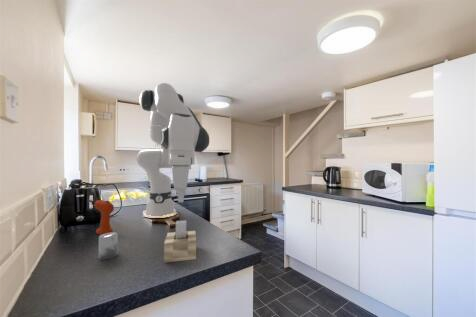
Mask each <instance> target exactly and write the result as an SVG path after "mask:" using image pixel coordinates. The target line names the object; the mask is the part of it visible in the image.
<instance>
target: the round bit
mask: <svg viewBox="0 0 476 317" xmlns="http://www.w3.org/2000/svg"><path fill="white" fill-rule="evenodd" d="M118 255H119V233H118V232H114V231H113V233H106V234H102V235H101V234H99V236H98V259H99V260H100V261H107V260H110V259H111V260H112V259H113V258H115V257H117V256H118Z"/></svg>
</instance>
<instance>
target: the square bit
mask: <svg viewBox="0 0 476 317" xmlns="http://www.w3.org/2000/svg"><path fill="white" fill-rule="evenodd" d="M186 231H187V219H185V220H176V222H175V232H176V239H186Z"/></svg>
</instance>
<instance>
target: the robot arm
mask: <svg viewBox="0 0 476 317" xmlns="http://www.w3.org/2000/svg"><path fill="white" fill-rule="evenodd" d="M138 100H139V105H140V106H141V108H142V110H143V111H147V112H150V122H149V123H150V124H149V125H150V126H149V130H150V132H149V134H150V139H151V141H152V142H154V143H155V144H158V145H160V146H161V149H151V148H150V149H142V150H140V151H138V153H137V155H136V163H137V165H138V167H140V168H141V169H142V170H144V171H145V172H146V174H147V175H148V178H149V183H150V184H149V186H150V188H149V189H150V191H149V200H147V202H146V208H145V209H146V210H145V214H146V215H151V216H163V215H167V214H171V213H174V212H175V213H176V214H177V215H178V212H177V211H176V208H175V206H174V205H175V203H174V202H175V201H174V200H173V199H172V196H173V195H172V194H173V193H172V191H171V189H172V188H171V187H172V186H171V185H173V188H174V190H175V191H177V202H178V203H184V201H185V195H186V194H185V192H186V190H187V188H188V180H189V172H190V170H191V169H192V165H195V164H196V163H195V160H196V158H195V156H196V154H195V153H203V152H204V151H205V150H206V149H207V148H208V147H209V145H210V134H209V133H208V131H207V130H206V129H205V128H204V127H203V126H202V124H201V123H200V121H199V120H198V117H197V116H196V115H195V113H194V112H193V110H191V108H190V107H189V106H188V105H186V104H185V101H184V100H185V99H184V97H183V96H182V94H180V93H178V92H177V91H176V89H175V88H174V86H172V85H171V84H170V83H167V82H162V83H159V84H158V85H156V87H155V89H154V90H152V89H146V90H143V91H141V93H140V94H139V99H138ZM160 169H171V171H172V172H171V173H172V180H171V177H170V176H168V174H165V173H162V172H161V170H160ZM171 182H172V183H173V184H172V183H171ZM142 218H145V215H144V214H143V215H142Z"/></svg>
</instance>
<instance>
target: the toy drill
mask: <svg viewBox="0 0 476 317" xmlns="http://www.w3.org/2000/svg"><path fill="white" fill-rule="evenodd" d="M86 201H87V202H89V203H91V205H92V206H93V207H94V208H96V210H98V212H100V213H101V215H100V225H99V226H100V227H99V228H97V229H96V230H95V233H96V235H102V234H106V233H113V232H114V230H113V228H112V226H111V222H110V220H111V214H113V212H114V209H115V206H114V204H113V203H112V202H110V201H109V200H104V199H100V200H99V199H97V200H96V199H94V200H91V199H87V200H86Z"/></svg>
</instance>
